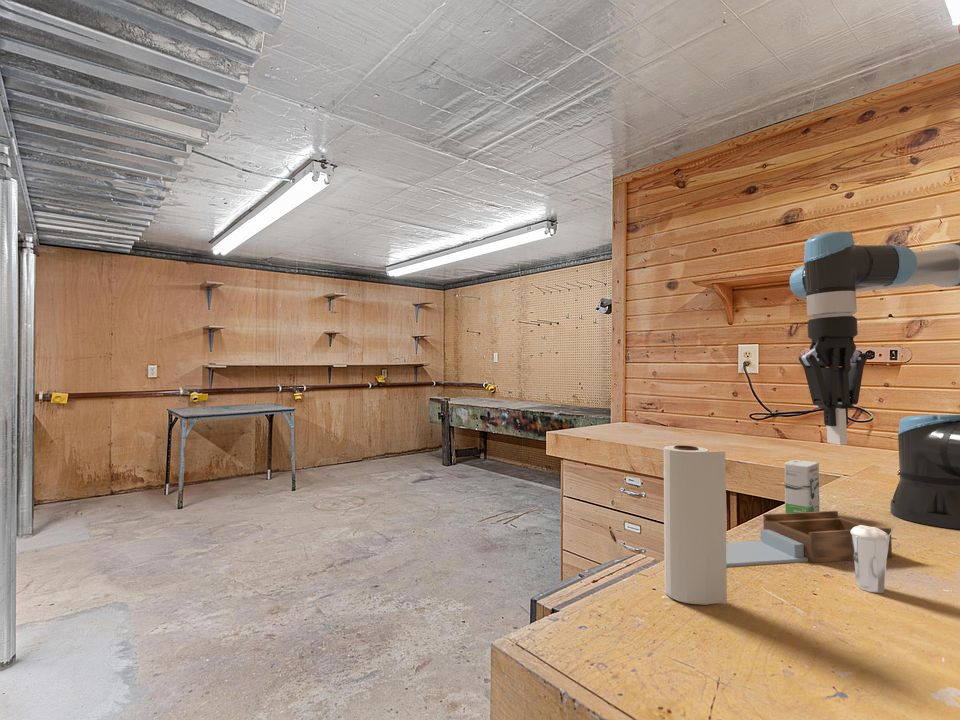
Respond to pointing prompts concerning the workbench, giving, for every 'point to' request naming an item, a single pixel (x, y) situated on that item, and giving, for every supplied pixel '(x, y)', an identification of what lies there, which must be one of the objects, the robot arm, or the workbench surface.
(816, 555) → the case
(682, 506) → the paper towel roll
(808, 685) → the workbench surface
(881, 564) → the milkshake
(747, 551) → the lid
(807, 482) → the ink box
